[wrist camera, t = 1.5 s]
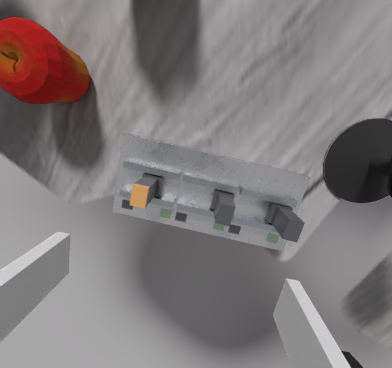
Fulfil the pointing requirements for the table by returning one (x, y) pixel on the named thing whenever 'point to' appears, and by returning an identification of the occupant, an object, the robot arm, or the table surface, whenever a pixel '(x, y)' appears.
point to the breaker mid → (223, 207)
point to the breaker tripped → (146, 190)
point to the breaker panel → (206, 190)
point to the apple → (39, 64)
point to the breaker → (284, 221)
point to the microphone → (361, 161)
